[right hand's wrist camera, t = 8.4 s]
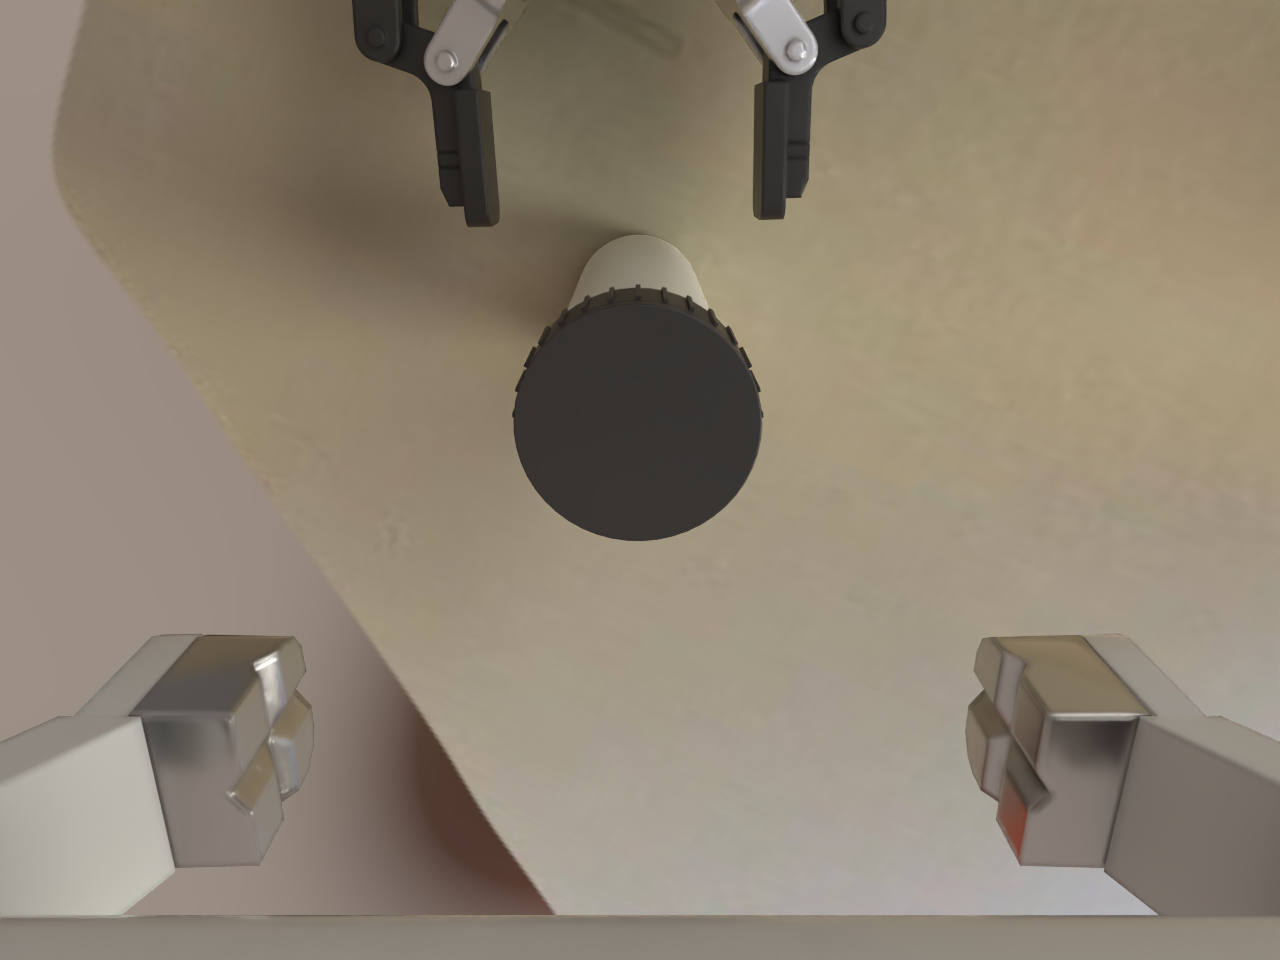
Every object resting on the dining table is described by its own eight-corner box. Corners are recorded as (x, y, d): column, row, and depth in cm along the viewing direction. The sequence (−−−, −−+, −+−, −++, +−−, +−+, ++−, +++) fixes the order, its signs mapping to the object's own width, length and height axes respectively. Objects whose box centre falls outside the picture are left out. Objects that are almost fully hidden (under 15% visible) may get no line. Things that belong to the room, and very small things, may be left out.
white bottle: (557, 321, 35) (496, 463, 20) (612, 211, 34) (590, 276, 19) (662, 376, 36) (679, 553, 21) (720, 271, 34) (784, 379, 19)
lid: (483, 446, 22) (467, 478, 20) (586, 239, 20) (580, 250, 18) (682, 543, 23) (687, 583, 21) (797, 353, 21) (814, 376, 19)
